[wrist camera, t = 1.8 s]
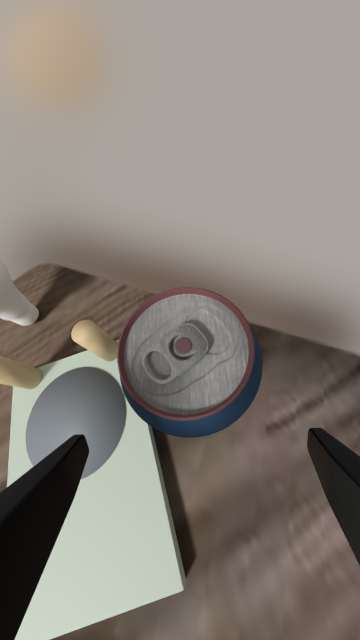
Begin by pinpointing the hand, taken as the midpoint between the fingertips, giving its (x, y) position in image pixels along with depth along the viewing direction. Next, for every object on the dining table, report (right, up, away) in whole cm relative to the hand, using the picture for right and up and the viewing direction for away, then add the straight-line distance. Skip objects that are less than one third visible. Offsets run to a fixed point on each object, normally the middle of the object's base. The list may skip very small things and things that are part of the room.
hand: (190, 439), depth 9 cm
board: (-8, -7, +10) cm, 15 cm away
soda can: (+1, -2, +11) cm, 11 cm away
